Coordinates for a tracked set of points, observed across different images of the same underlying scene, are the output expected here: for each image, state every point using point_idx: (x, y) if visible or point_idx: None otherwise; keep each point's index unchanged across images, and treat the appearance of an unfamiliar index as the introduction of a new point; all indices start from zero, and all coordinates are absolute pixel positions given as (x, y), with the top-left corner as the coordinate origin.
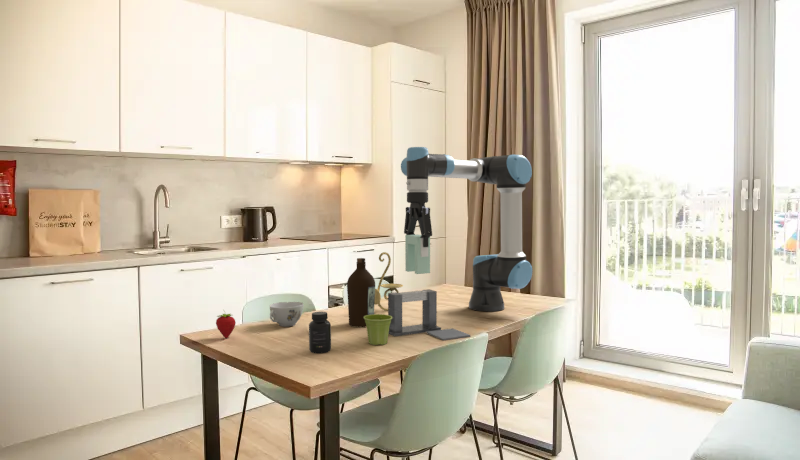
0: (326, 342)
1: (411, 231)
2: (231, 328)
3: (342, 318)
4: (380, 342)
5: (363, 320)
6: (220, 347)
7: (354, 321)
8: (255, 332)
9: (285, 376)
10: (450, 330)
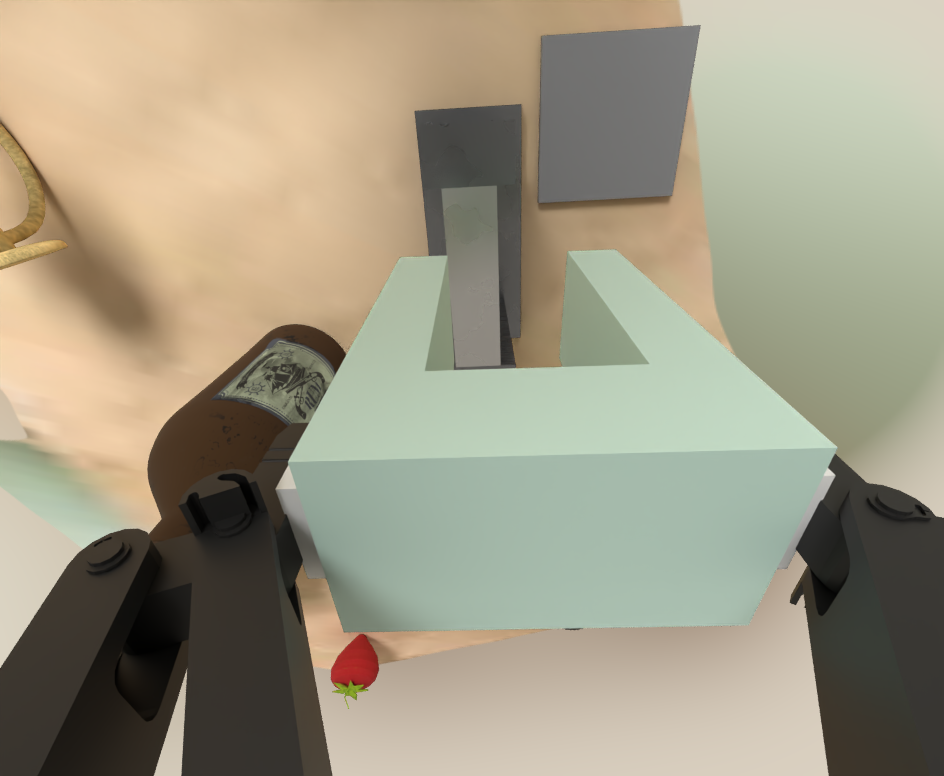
0: None
1: (293, 615)
2: (375, 655)
3: (186, 389)
4: None
5: None
6: (433, 646)
7: None
8: (325, 594)
9: None
10: (573, 77)
